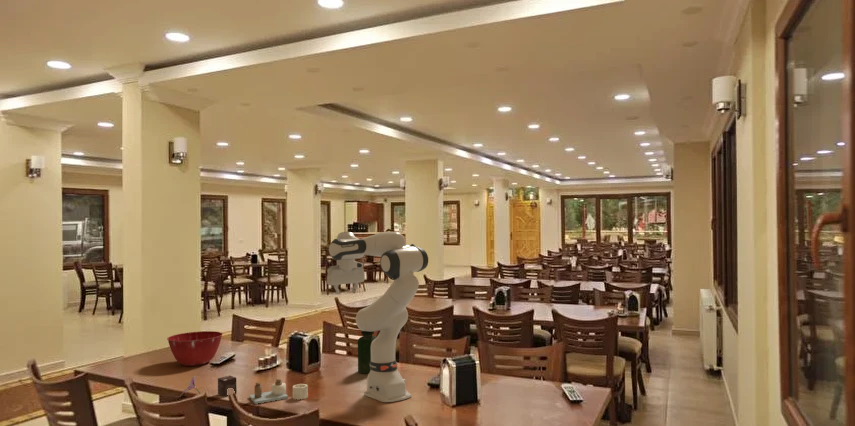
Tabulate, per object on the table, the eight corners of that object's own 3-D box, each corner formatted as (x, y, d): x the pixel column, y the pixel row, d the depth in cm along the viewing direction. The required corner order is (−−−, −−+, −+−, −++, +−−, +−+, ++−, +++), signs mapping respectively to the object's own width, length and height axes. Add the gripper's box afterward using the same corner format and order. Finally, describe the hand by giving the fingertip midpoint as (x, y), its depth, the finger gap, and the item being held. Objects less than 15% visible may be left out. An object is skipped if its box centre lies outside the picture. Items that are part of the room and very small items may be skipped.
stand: (289, 398, 239) (289, 381, 239) (255, 404, 231) (255, 387, 231) (281, 391, 248) (281, 375, 248) (249, 397, 240) (249, 380, 241)
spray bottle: (379, 368, 285) (379, 321, 285) (376, 374, 275) (375, 324, 275) (360, 368, 286) (359, 321, 286) (355, 374, 276) (355, 324, 276)
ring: (309, 397, 239) (309, 386, 239) (295, 400, 236) (295, 388, 236) (304, 394, 244) (304, 383, 244) (291, 396, 241) (291, 385, 241)
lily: (198, 391, 254) (186, 374, 253) (215, 384, 250) (203, 367, 249) (180, 407, 243) (168, 390, 242) (198, 400, 239) (186, 382, 238)
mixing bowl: (167, 360, 310) (167, 333, 311) (220, 354, 322) (220, 328, 323) (166, 372, 285) (166, 342, 285) (224, 365, 297) (224, 337, 297)
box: (229, 391, 251) (229, 375, 251) (237, 393, 247) (236, 377, 247) (217, 394, 246) (217, 378, 246) (224, 397, 242) (224, 380, 242)
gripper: (331, 266, 259) (331, 295, 258) (366, 263, 272) (366, 291, 272) (324, 266, 263) (324, 294, 263) (358, 263, 277) (359, 290, 277)
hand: (346, 293), depth 268 cm, fingers open, 8 cm apart
